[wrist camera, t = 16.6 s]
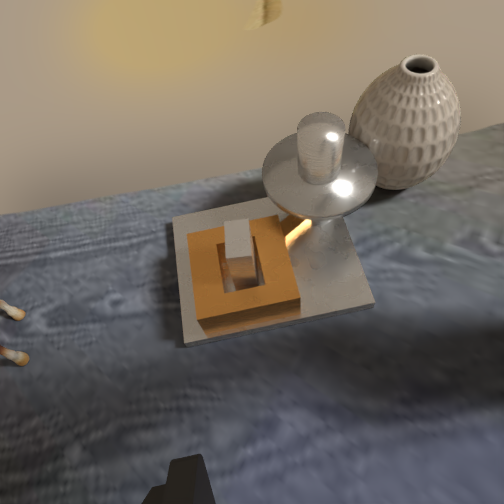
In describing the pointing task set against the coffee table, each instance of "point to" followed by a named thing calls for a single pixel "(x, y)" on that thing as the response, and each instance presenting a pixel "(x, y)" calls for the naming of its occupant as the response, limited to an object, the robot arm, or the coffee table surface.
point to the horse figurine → (16, 356)
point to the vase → (408, 121)
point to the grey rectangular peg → (241, 254)
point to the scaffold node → (282, 240)
